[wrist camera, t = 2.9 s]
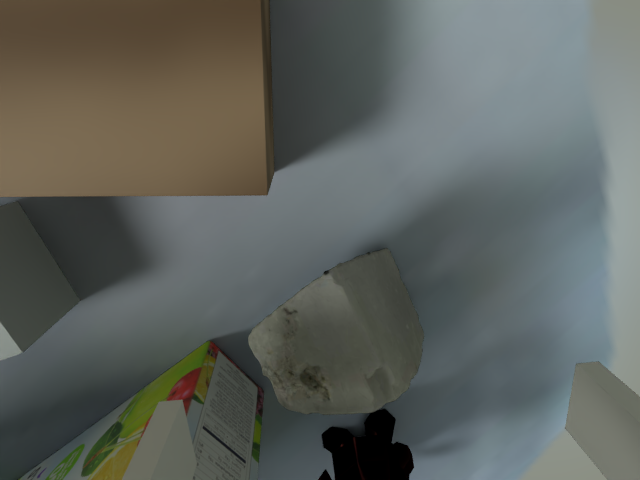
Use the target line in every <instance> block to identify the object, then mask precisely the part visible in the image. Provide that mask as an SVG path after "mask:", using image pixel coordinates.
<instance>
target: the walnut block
mask: <svg viewBox="0 0 640 480" xmlns="http://www.w3.org/2000/svg"><path fill="white" fill-rule="evenodd" d="M273 175H274V139H273V104H272V69H271V35H270V0H0V197H54V196H230V195H268V192H269V188H270V185H271V182H272V179H273Z"/></svg>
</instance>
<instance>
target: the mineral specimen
mask: <svg viewBox="0 0 640 480" xmlns="http://www.w3.org/2000/svg"><path fill="white" fill-rule="evenodd" d="M423 339H424V333H423V329H422V327H421V325H420V323H419V319H418V314H417V312H416V311H415V309H414V306H413V304H412V302H411V300H410V298H409V295H408V292H407V289H406V287H405V286H404V284H403V283H402V281H401V277H400V274H399V269H398V268H397V266H396V264H395V261H394V259H393V257H392V255H391V252H390V251H389V250H388V249H387V248H386V249H383V250H379V251H374V252H371V253H367V254H366V255H361V256H358V257H356V258H354V259H353V260H350V261H347V262H345V263H339V264H338V265H337V266H336V267H334V268H332V269H330V270H329V271H325V272H324V274H323V276H321V277H320V278H318V279H316V280H314V281H312V282H311V283H310V284H309V285H307V286H306V287H304V288H302V289H301V290H300V291H299V292H298V293H297V294H296V295H295V296H293V297H292V298H291V299H289V300H288V301H286V302H285V303H284V304H283V305H281V306H279V307H278V308H277V309H276V310H275V311H274V312H273V313H272V314H270V315H268V316H267V317H266V318H264V320H263V321H262V322H260V323H259V324H257V325H256V326H255V327H254V328H253V329H252V332H251V334H250V335H249V336H248V341H249V346H250V348H251V350H252V352H253V354H254V356H255V357H256V358H257V359H258V360H259V362H260V365H261V367H262V372H263V376H266V377H268V378H269V380H270V381H271V383H272V385H273V389H274V392H275V394H276V396H277V399H278V402H279V403H280V404H281V405H282V406H283V407H284V408H286V409H288V410H290V411H297V412H300V413H303V414H310V413H320V414H323V415H331V414H356V413H372V412H375V411H376V410H378V409H380V408H381V407H383V406H384V404H385V403H389V402H393V401H395V400H396V399H398V398H399V397H400V395H401V394H403V393H404V392H405V391H407V390H408V389H409V386H410V381H411V379H413V378H414V376H415V375H416V374H417V372H418V368H419V365H420V362H421V356H422V351H423V350H422V342H423Z"/></svg>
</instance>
